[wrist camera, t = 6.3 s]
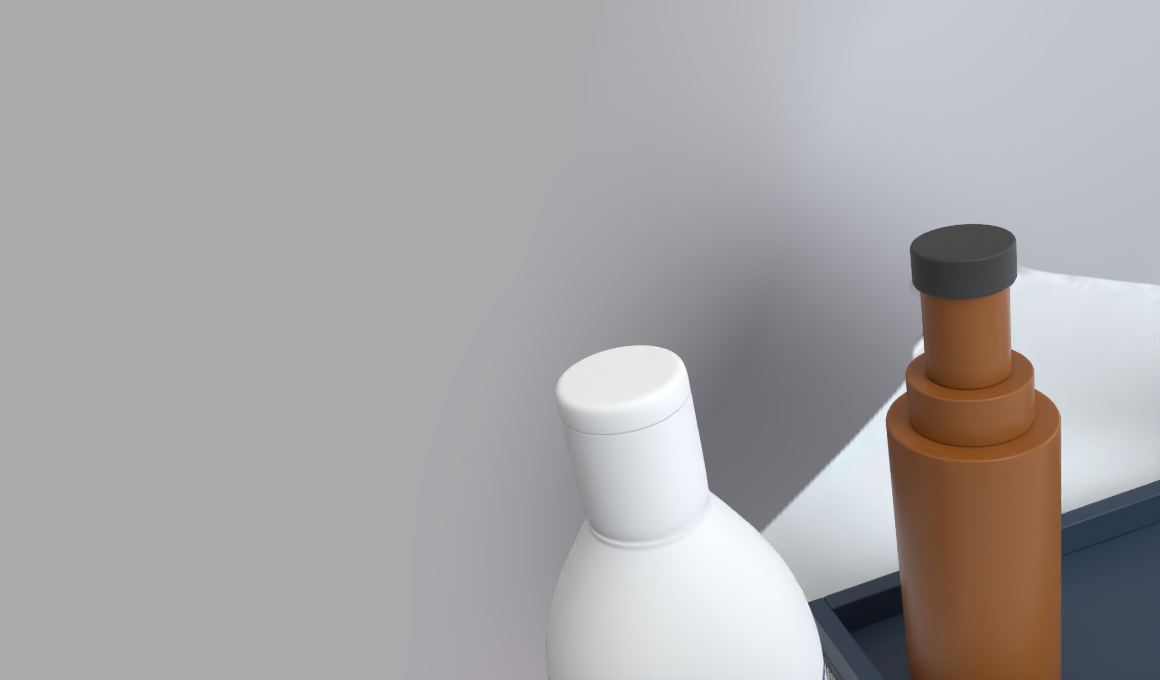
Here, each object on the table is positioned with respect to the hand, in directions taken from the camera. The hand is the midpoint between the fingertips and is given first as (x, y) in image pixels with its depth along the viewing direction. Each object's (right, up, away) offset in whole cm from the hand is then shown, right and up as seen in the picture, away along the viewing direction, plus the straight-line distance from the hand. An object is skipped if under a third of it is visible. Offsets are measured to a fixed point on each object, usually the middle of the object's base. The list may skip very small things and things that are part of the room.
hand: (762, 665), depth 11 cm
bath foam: (+3, -15, +17) cm, 23 cm away
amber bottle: (+12, -9, +23) cm, 27 cm away
